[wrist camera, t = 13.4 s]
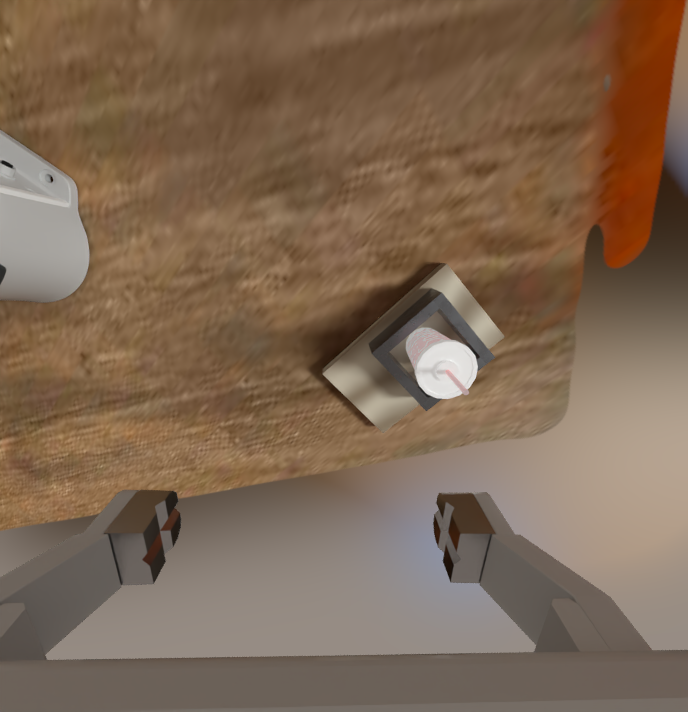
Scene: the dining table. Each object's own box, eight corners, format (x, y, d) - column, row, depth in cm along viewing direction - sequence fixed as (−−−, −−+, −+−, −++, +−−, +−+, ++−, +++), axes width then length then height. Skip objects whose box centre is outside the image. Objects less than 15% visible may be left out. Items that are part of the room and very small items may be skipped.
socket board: (323, 368, 43) (322, 374, 41) (441, 263, 39) (446, 263, 37) (381, 425, 46) (383, 433, 44) (497, 332, 42) (504, 336, 40)
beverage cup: (447, 317, 39) (503, 353, 26) (449, 364, 41) (502, 419, 28) (397, 325, 40) (427, 363, 26) (401, 371, 41) (431, 429, 28)
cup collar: (368, 343, 40) (371, 353, 36) (431, 288, 38) (442, 292, 34) (418, 396, 43) (426, 411, 39) (480, 347, 41) (495, 357, 37)
